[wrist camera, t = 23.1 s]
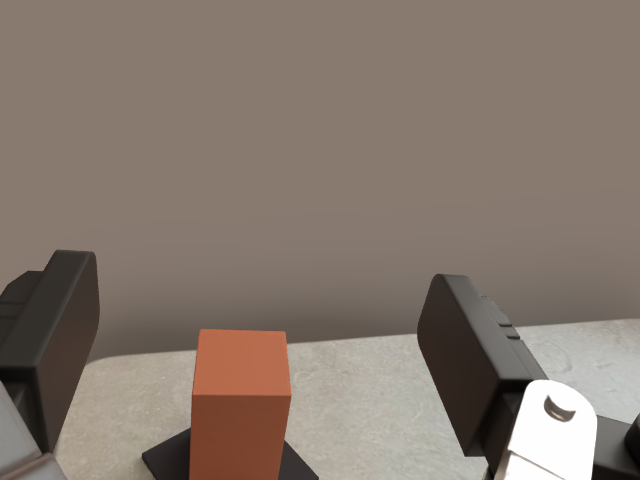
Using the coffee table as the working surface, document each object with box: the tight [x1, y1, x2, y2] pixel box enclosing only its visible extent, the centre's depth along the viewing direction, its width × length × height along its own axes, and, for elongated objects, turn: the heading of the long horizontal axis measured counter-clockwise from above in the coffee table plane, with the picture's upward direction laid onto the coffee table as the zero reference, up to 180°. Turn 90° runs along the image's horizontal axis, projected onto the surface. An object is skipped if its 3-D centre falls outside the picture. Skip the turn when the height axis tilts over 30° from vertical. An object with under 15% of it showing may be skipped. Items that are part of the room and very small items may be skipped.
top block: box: [189, 329, 292, 480], centre depth 30 cm, size 5×5×9 cm
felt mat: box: [142, 428, 319, 480], centre depth 33 cm, size 8×8×1 cm
